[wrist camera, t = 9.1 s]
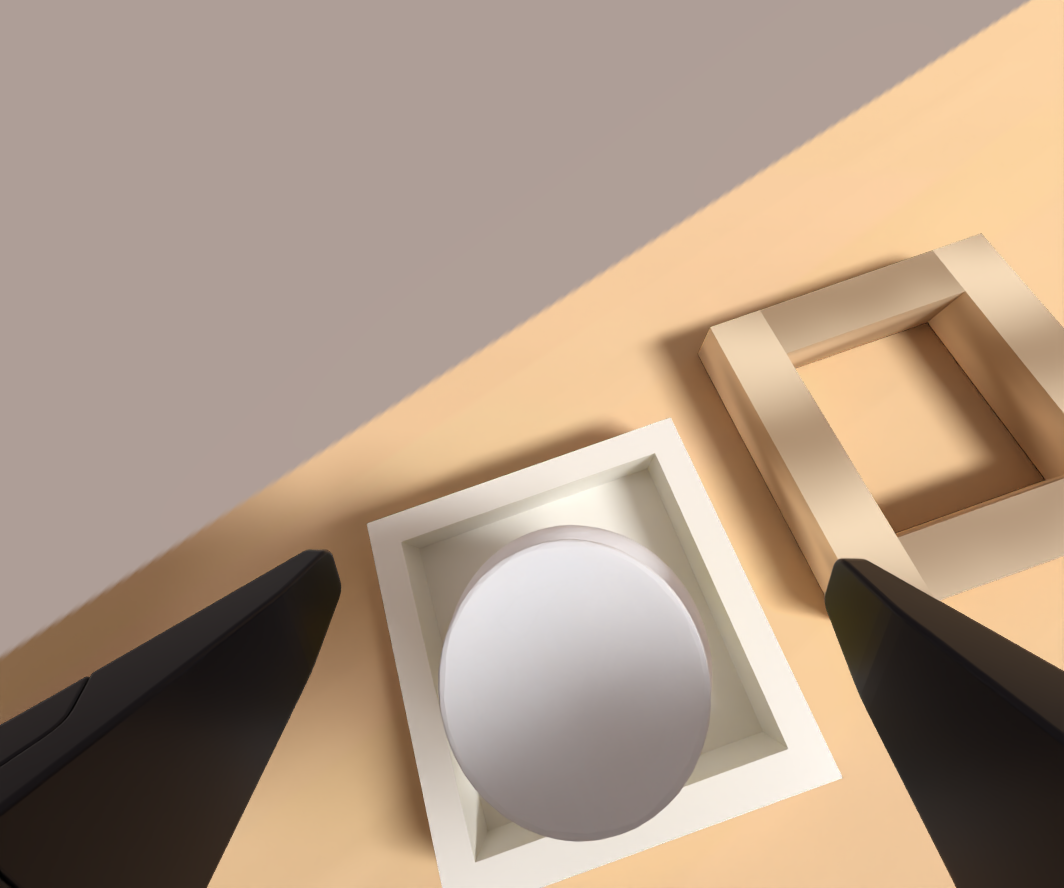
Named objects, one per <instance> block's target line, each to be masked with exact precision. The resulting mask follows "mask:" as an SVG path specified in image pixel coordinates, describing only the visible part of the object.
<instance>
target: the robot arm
mask: <svg viewBox="0 0 1064 888" xmlns="http://www.w3.org/2000/svg"><path fill="white" fill-rule="evenodd" d="M340 593H341V582H340V579H339V575H338V572H337V568H336V565H335V561H334V558H333V555H332V553H331V552H330V551H328V550H320V549H310V550H306V551H304V552H302V553H300V554H298V555H297V556H295V557H293V558H291V559H290V560H288V561H286V562H285V563H283V564H281V565H279V566H278V567H276V568H274V569H272V570H271V571H269V572H267V573H265V574H264V575H262V576H260V577H258V578H257V579H255V580H253V581H251V582H250V583H248V584H246V585H245V586H243V587H241V588H239V589H238V590H236V591H234V592H232V593H231V594H229V595H227V596H225V597H224V598H222V599H220V600H218V601H217V602H215V603H213V604H212V605H210V606H208V607H206V608H205V609H203V610H201V611H199V612H198V613H196V614H194V615H192V616H191V617H189V618H187V619H185V620H184V621H182V622H180V623H178V624H177V625H175V626H173V627H172V628H170V629H168V630H166V631H165V632H163V633H161V634H159V635H158V636H156V637H154V638H152V639H151V640H149V641H147V642H145V643H144V644H142V645H140V646H139V647H137V648H135V649H133V650H132V651H130V652H128V653H126V654H125V655H123V656H121V657H119V658H118V659H116V660H114V661H112V662H111V663H109V664H107V665H105V666H104V667H102V668H100V669H99V670H97V671H95V672H93V673H92V674H91V676H90V677H84V678H83V679H81V680H79V681H77V682H76V683H74V684H72V685H71V686H69V687H67V688H65V689H64V690H62V691H60V692H58V693H57V694H55V695H53V696H51V697H50V698H48V699H46V700H44V701H42V702H41V703H39V704H37V705H35V706H34V707H32V708H30V709H28V710H26V711H25V712H23V713H21V714H19V715H18V716H16V717H14V718H12V719H10V720H9V721H7V722H5V723H3V724H1V725H0V888H207V886H208V884H209V882H210V880H211V878H212V876H213V874H214V872H215V870H216V868H217V866H218V864H219V862H220V860H221V857H222V855H223V853H224V851H225V849H226V847H227V845H228V843H229V841H230V839H231V837H232V835H233V833H234V831H235V829H236V827H237V825H238V823H239V821H240V818H241V816H242V814H243V812H244V810H245V808H246V806H247V804H248V802H249V800H250V798H251V796H252V794H253V792H254V790H255V788H256V786H257V784H258V781H259V779H260V777H261V775H262V773H263V771H264V769H265V767H266V765H267V763H268V761H269V759H270V757H271V755H272V753H273V751H274V749H275V747H276V744H277V742H278V740H279V738H280V736H281V734H282V732H283V730H284V728H285V726H286V724H287V722H288V720H289V718H290V716H291V714H292V712H293V710H294V708H295V705H296V703H297V701H298V699H299V697H300V695H301V693H302V691H303V689H304V687H305V685H306V683H307V681H308V678H309V676H310V674H311V672H312V669H313V667H314V664H315V662H316V659H317V657H318V654H319V651H320V649H321V646H322V643H323V640H324V638H325V635H326V632H327V630H328V627H329V624H330V621H331V619H332V616H333V613H334V611H335V608H336V605H337V602H338V600H339V597H340ZM825 606H826V610H827V612H828V615H829V618H830V620H831V623H832V626H833V628H834V631H835V633H836V636H837V639H838V641H839V644H840V646H841V649H842V652H843V654H844V657H845V660H846V662H847V665H848V667H849V670H850V673H851V675H852V678H853V680H854V683H855V685H856V688H857V690H858V693H859V695H860V697H861V699H862V701H863V704H864V706H865V708H866V710H867V712H868V714H869V716H870V718H871V720H872V722H873V724H874V726H875V728H876V730H877V732H878V734H879V736H880V738H881V740H882V742H883V744H884V746H885V748H886V749H887V751H888V753H889V755H890V757H891V759H892V761H893V763H894V765H895V767H896V769H897V771H898V773H899V775H900V777H901V779H902V781H903V783H904V785H905V787H906V789H907V791H908V793H909V795H910V797H911V799H912V801H913V803H914V805H915V807H916V809H917V811H918V813H919V815H920V817H921V819H922V821H923V823H924V825H925V827H926V829H927V831H928V833H929V835H930V837H931V839H932V841H933V842H934V844H935V846H936V848H937V850H938V852H939V854H940V856H941V858H942V860H943V862H944V864H945V866H946V868H947V870H948V872H949V874H950V876H951V878H952V880H953V882H954V884H955V886H956V888H1064V671H1063V670H1061V669H1059V668H1057V667H1056V666H1054V665H1052V664H1050V663H1049V662H1047V661H1045V660H1043V659H1042V658H1040V657H1038V656H1036V655H1034V654H1033V653H1031V652H1029V651H1027V650H1026V649H1024V648H1022V647H1020V646H1019V645H1017V644H1015V643H1013V642H1011V641H1010V640H1008V639H1006V638H1004V637H1003V636H1001V635H999V634H997V633H996V632H994V631H992V630H990V629H988V628H987V627H985V626H983V625H981V624H980V623H978V622H976V621H974V620H973V619H971V618H969V617H967V616H965V615H964V614H962V613H960V612H958V611H957V610H955V609H953V608H951V607H950V606H948V605H946V604H944V603H942V602H941V601H939V600H937V599H935V598H934V597H932V596H930V595H928V594H927V593H925V592H923V591H921V590H919V589H918V588H916V587H914V586H912V585H911V584H909V583H907V582H905V581H904V580H902V579H900V578H898V577H896V576H895V575H893V574H891V573H889V572H888V571H886V570H884V569H882V568H881V567H879V566H877V565H875V564H873V563H872V562H870V561H868V560H866V559H861V558H840V559H838V560H836V562H835V563H834V565H833V568H832V572H831V575H830V579H829V582H828V586H827V589H826V592H825Z"/></svg>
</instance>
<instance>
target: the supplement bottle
mask: <svg viewBox="0 0 1064 888" xmlns="http://www.w3.org/2000/svg"><path fill="white" fill-rule="evenodd" d="M711 692H712V659H711V652H710V646H709V642H708V638H707V634H706V630H705V626H704V624H703V621H702V618H701V616H700V613H699V611H698V609H697V607H696V605H695V603H694V601H693V599H692V597H691V596H690V594H689V592H688V591H687V589H686V587H685V586H684V585H683V583H682V582H681V581H680V579H679V578H678V577H677V576H676V574H675V573H674V572H673V571H672V570H671V569H670V568H669V567H668V566H667V565H666V564H665V563H664V562H663V561H662V560H661V559H660V558H659V557H658V556H656V555H655V554H654V553H653V552H651V551H650V550H648V549H647V548H645V547H644V546H642V545H641V544H639V543H637V542H635V541H634V540H632V539H630V538H628V537H625V536H623V535H621V534H618V533H615V532H612V531H609V530H605V529H601V528H596V527H589V526H581V525H560V526H554V527H549V528H544V529H540V530H537V531H533V532H530V533H528V534H526V535H523V536H521V537H519V538H517V539H515V540H513V541H511V542H510V543H508V544H507V545H505V546H504V547H502V548H501V549H500V550H499V551H497V552H496V553H495V554H494V555H492V556H491V557H490V558H489V559H488V560H487V561H486V562H485V563H484V564H483V565H482V566H481V567H480V569H479V570H478V571H477V572H476V574H475V575H474V576H473V577H472V579H471V580H470V582H469V583H468V585H467V587H466V588H465V590H464V592H463V594H462V596H461V597H460V600H459V602H458V604H457V606H456V608H455V611H454V614H453V617H452V620H451V623H450V625H449V627H448V630H447V633H446V636H445V639H444V643H443V647H442V651H441V656H440V663H439V670H438V696H439V706H440V712H441V717H442V721H443V726H444V730H445V734H446V736H447V739H448V742H449V745H450V747H451V750H452V752H453V755H454V757H455V759H456V761H457V762H458V764H459V766H460V768H461V770H462V772H463V773H464V775H465V776H466V778H467V779H468V780H469V782H470V783H471V785H472V786H473V787H474V789H475V790H476V791H477V792H478V793H479V794H480V795H481V796H482V798H483V799H484V800H485V801H486V802H487V803H489V804H490V805H491V806H492V807H493V808H494V809H496V810H497V811H498V812H499V813H500V814H501V815H502V816H504V817H505V818H507V819H508V820H510V821H512V822H513V823H515V824H517V825H518V826H520V827H522V828H524V829H527V830H529V831H532V832H534V833H537V834H539V835H542V836H545V837H549V838H553V839H558V840H564V841H574V842H583V841H595V840H602V839H606V838H610V837H614V836H617V835H621V834H623V833H626V832H628V831H631V830H633V829H636V828H638V827H639V826H641V825H642V824H644V823H646V822H647V821H649V820H650V819H652V818H654V817H655V816H656V815H657V814H658V813H659V812H660V811H662V810H663V809H664V808H665V807H666V806H667V805H669V804H670V802H671V801H672V800H673V799H674V798H675V797H676V796H677V795H678V794H679V792H680V791H681V789H682V788H683V787H684V785H685V784H686V782H687V781H688V779H689V777H690V776H691V774H692V772H693V770H694V768H695V766H696V764H697V762H698V759H699V757H700V755H701V752H702V749H703V746H704V743H705V739H706V736H707V732H708V727H709V720H710V713H711Z"/></svg>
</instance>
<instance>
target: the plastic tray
mask: <svg viewBox="0 0 1064 888" xmlns="http://www.w3.org/2000/svg"><path fill="white" fill-rule="evenodd" d="M560 525H581V526H589V527H596V528H601V529H605V530H609V531H612V532H615V533H618V534H621V535H623V536H625V537H628V538H630V539H632V540H634V541H635V542H637V543H639V544H641V545H642V546H644V547H645V548H647V549H648V550H650V551H651V552H653V553H654V554H655V555H656V556H658V557H659V558H660V559H661V560H662V561H663V562H664V563H665V564H666V565H667V566H668V567H669V568H670V569H671V570H672V571H673V572H674V573H675V574H676V576H677V577H678V578H679V579H680V581H681V582H682V583H683V585H684V586H685V587H686V589H687V591H688V592H689V594H690V596H691V597H692V599H693V601H694V603H695V605H696V607H697V609H698V611H699V613H700V616H701V618H702V621H703V624H704V626H705V630H706V634H707V638H708V642H709V646H710V652H711V659H712V692H711V713H710V720H709V727H708V732H707V736H706V739H705V743H704V746H703V749H702V752H701V755H700V757H699V759H698V762H697V764H696V766H695V768H694V770H693V772H692V774H691V776H690V777H689V779H688V781H687V782H686V784H685V785H684V787H683V788H682V789H681V791H680V792H679V794H678V795H677V796H676V797H675V798H674V799H673V800H672V801H671V802H670V804H669V805H667V806H666V807H665V808H664V809H663V810H662V811H660V812H659V813H658V814H657V815H656V816H655V817H654V818H652V819H650V820H649V821H647V822H646V823H644V824H642V825H641V826H639V827H638V828H636V829H633V830H631V831H628V832H626V833H623V834H621V835H617V836H614V837H610V838H606V839H602V840H595V841H583V842H574V841H564V840H558V839H553V838H549V837H545V836H542V835H539V834H537V833H534V832H532V831H529V830H527V829H524V828H522V827H520V826H518V825H517V824H515V823H513V822H512V821H510V820H508V819H507V818H505V817H504V816H502V815H501V814H500V813H499V812H498V811H497V810H496V809H494V808H493V807H492V806H491V805H490V804H489V803H487V802H486V801H485V800H484V799H483V798H482V796H481V795H480V794H479V793H478V792H477V791H476V790H475V789H474V787H473V786H472V785H471V783H470V782H469V780H468V779H467V778H466V776H465V775H464V773H463V772H462V770H461V768H460V766H459V764H458V762H457V761H456V759H455V757H454V755H453V752H452V750H451V747H450V745H449V742H448V739H447V736H446V734H445V730H444V726H443V721H442V717H441V712H440V706H439V696H438V670H439V663H440V656H441V651H442V647H443V643H444V639H445V636H446V633H447V630H448V627H449V625H450V623H451V620H452V617H453V614H454V611H455V608H456V606H457V604H458V602H459V600H460V597H461V596H462V594H463V592H464V590H465V588H466V587H467V585H468V583H469V582H470V580H471V579H472V577H473V576H474V575H475V574H476V572H477V571H478V570H479V569H480V567H481V566H482V565H483V564H484V563H485V562H486V561H487V560H488V559H489V558H490V557H491V556H492V555H494V554H495V553H496V552H497V551H499V550H500V549H501V548H502V547H504V546H505V545H507V544H508V543H510V542H511V541H513V540H515V539H517V538H519V537H521V536H523V535H526V534H528V533H530V532H533V531H537V530H540V529H544V528H549V527H554V526H560ZM367 528H368V532H369V537H370V542H371V547H372V552H373V556H374V561H375V566H376V571H377V576H378V581H379V585H380V590H381V595H382V600H383V605H384V609H385V614H386V619H387V624H388V629H389V634H390V638H391V643H392V648H393V653H394V658H395V663H396V667H397V672H398V677H399V682H400V687H401V691H402V696H403V701H404V706H405V711H406V716H407V720H408V725H409V730H410V735H411V740H412V745H413V749H414V754H415V759H416V764H417V769H418V773H419V778H420V783H421V788H422V793H423V798H424V802H425V807H426V812H427V817H428V822H429V826H430V831H431V836H432V841H433V846H434V851H435V855H436V860H437V865H438V870H439V875H440V880H441V884H442V888H542V887H545V886H548V885H550V884H553V883H556V882H559V881H561V880H564V879H567V878H570V877H572V876H575V875H578V874H581V873H583V872H586V871H589V870H592V869H594V868H597V867H600V866H602V865H605V864H608V863H611V862H613V861H616V860H619V859H622V858H624V857H627V856H630V855H633V854H635V853H638V852H641V851H644V850H646V849H649V848H652V847H655V846H657V845H660V844H663V843H666V842H668V841H671V840H674V839H677V838H679V837H682V836H685V835H687V834H690V833H693V832H696V831H698V830H701V829H704V828H707V827H709V826H712V825H715V824H718V823H720V822H723V821H726V820H729V819H731V818H734V817H737V816H740V815H742V814H745V813H748V812H751V811H753V810H756V809H759V808H762V807H764V806H767V805H770V804H773V803H775V802H778V801H781V800H783V799H786V798H789V797H792V796H794V795H797V794H800V793H803V792H805V791H808V790H811V789H814V788H816V787H819V786H822V785H825V784H827V783H830V782H833V781H836V780H838V779H841V778H842V775H841V773H840V771H839V769H838V767H837V765H836V763H835V761H834V759H833V757H832V754H831V752H830V750H829V748H828V746H827V744H826V742H825V740H824V738H823V736H822V734H821V731H820V729H819V727H818V725H817V723H816V721H815V719H814V717H813V715H812V713H811V710H810V708H809V706H808V704H807V702H806V700H805V698H804V696H803V694H802V692H801V690H800V687H799V685H798V683H797V681H796V679H795V677H794V675H793V673H792V671H791V669H790V666H789V664H788V662H787V660H786V658H785V656H784V654H783V652H782V650H781V648H780V646H779V643H778V641H777V639H776V637H775V635H774V633H773V631H772V629H771V627H770V625H769V622H768V620H767V618H766V616H765V614H764V612H763V610H762V608H761V606H760V604H759V602H758V599H757V597H756V595H755V593H754V591H753V589H752V587H751V585H750V583H749V581H748V578H747V576H746V574H745V572H744V570H743V568H742V566H741V564H740V562H739V560H738V558H737V555H736V553H735V551H734V549H733V547H732V545H731V543H730V541H729V539H728V537H727V534H726V532H725V530H724V528H723V526H722V524H721V522H720V520H719V518H718V516H717V514H716V511H715V509H714V507H713V505H712V503H711V501H710V499H709V497H708V495H707V493H706V490H705V488H704V486H703V484H702V482H701V480H700V478H699V476H698V474H697V472H696V470H695V467H694V465H693V463H692V461H691V459H690V457H689V455H688V453H687V451H686V449H685V446H684V444H683V442H682V440H681V438H680V436H679V434H678V432H677V430H676V428H675V426H674V423H673V421H672V419H671V418H668V419H665V420H662V421H659V422H656V423H653V424H650V425H648V426H645V427H642V428H639V429H636V430H633V431H630V432H628V433H625V434H622V435H619V436H616V437H613V438H610V439H607V440H605V441H602V442H599V443H596V444H593V445H590V446H587V447H585V448H582V449H579V450H576V451H573V452H570V453H567V454H564V455H562V456H559V457H556V458H553V459H550V460H547V461H544V462H542V463H539V464H536V465H533V466H530V467H527V468H524V469H521V470H519V471H516V472H513V473H510V474H507V475H504V476H501V477H499V478H496V479H493V480H490V481H487V482H484V483H481V484H478V485H476V486H473V487H470V488H467V489H464V490H461V491H458V492H456V493H453V494H450V495H447V496H444V497H441V498H438V499H435V500H433V501H430V502H427V503H424V504H421V505H418V506H415V507H413V508H410V509H407V510H404V511H401V512H398V513H395V514H392V515H390V516H387V517H384V518H381V519H378V520H375V521H372V522H370V523H367Z"/></svg>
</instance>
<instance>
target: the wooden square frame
mask: <svg viewBox="0 0 1064 888" xmlns="http://www.w3.org/2000/svg"><path fill="white" fill-rule="evenodd" d="M927 322H928V323H929V325H930V326H931V327H932V329H933V330H934V331H935V333H936V334H937V336H938V337H939V338H940V340H941V341H942V342H943V344H944V345H945V346H946V348H947V349H948V350H949V352H950V353H951V354H952V356H953V357H954V358H955V360H956V361H957V362H958V364H959V365H960V366H961V368H962V369H963V370H964V372H965V373H966V374H967V376H968V377H969V378H970V380H971V381H972V382H973V384H974V385H975V386H976V388H977V389H978V390H979V392H980V393H981V394H982V396H983V397H984V398H985V400H986V401H987V402H988V404H989V405H990V406H991V408H992V409H993V410H994V412H995V413H996V414H997V416H998V417H999V418H1000V420H1001V421H1002V422H1003V424H1004V425H1005V426H1006V428H1007V429H1008V430H1009V432H1010V433H1011V434H1012V436H1013V437H1014V438H1015V440H1016V441H1017V442H1018V444H1019V445H1020V446H1021V448H1022V449H1023V450H1024V452H1025V453H1026V454H1027V456H1028V457H1029V458H1030V460H1031V461H1032V462H1033V464H1034V465H1035V466H1036V468H1037V469H1038V470H1039V472H1040V473H1041V474H1042V476H1043V477H1044V478H1045V480H1044V481H1042V482H1039V483H1036V484H1033V485H1030V486H1027V487H1025V488H1022V489H1019V490H1016V491H1013V492H1011V493H1008V494H1005V495H1002V496H999V497H997V498H994V499H991V500H988V501H985V502H983V503H980V504H977V505H974V506H971V507H969V508H966V509H963V510H960V511H957V512H954V513H952V514H949V515H946V516H943V517H940V518H938V519H935V520H932V521H929V522H926V523H924V524H921V525H918V526H915V527H912V528H910V529H907V530H904V531H901V532H898V533H896V534H895V533H894V531H893V529H892V528H891V526H890V524H889V523H888V521H887V519H886V518H885V516H884V514H883V513H882V511H881V509H880V508H879V506H878V504H877V503H876V501H875V499H874V498H873V496H872V495H871V493H870V491H869V490H868V488H867V486H866V485H865V483H864V481H863V480H862V478H861V476H860V475H859V473H858V471H857V470H856V468H855V466H854V465H853V463H852V461H851V460H850V458H849V456H848V455H847V453H846V452H845V450H844V448H843V447H842V445H841V443H840V442H839V440H838V438H837V437H836V435H835V433H834V432H833V430H832V428H831V427H830V425H829V423H828V422H827V420H826V418H825V417H824V415H823V414H822V412H821V410H820V409H819V407H818V405H817V404H816V402H815V400H814V399H813V397H812V395H811V394H810V392H809V390H808V389H807V387H806V385H805V384H804V382H803V380H802V379H801V377H800V376H799V374H798V372H797V371H796V369H795V368H798V367H801V366H804V365H807V364H809V363H812V362H815V361H818V360H821V359H824V358H827V357H830V356H832V355H835V354H838V353H841V352H844V351H847V350H850V349H852V348H855V347H858V346H861V345H864V344H867V343H870V342H873V341H875V340H878V339H881V338H884V337H887V336H890V335H893V334H895V333H898V332H901V331H904V330H907V329H910V328H913V327H916V326H918V325H921V324H924V323H927ZM698 356H699V357H700V359H701V361H702V363H703V365H704V367H705V369H706V371H707V373H708V375H709V376H710V378H711V380H712V382H713V384H714V386H715V388H716V390H717V392H718V393H719V395H720V397H721V399H722V401H723V403H724V405H725V407H726V409H727V411H728V412H729V414H730V416H731V418H732V420H733V422H734V424H735V426H736V428H737V430H738V431H739V433H740V435H741V437H742V439H743V441H744V443H745V445H746V447H747V448H748V450H749V452H750V454H751V456H752V458H753V460H754V462H755V464H756V466H757V467H758V469H759V471H760V473H761V475H762V477H763V479H764V481H765V483H766V484H767V486H768V488H769V490H770V492H771V494H772V496H773V498H774V500H775V502H776V503H777V505H778V507H779V509H780V511H781V513H782V515H783V517H784V519H785V521H786V522H787V524H788V526H789V528H790V530H791V532H792V534H793V536H794V538H795V539H796V541H797V543H798V545H799V547H800V549H801V551H802V553H803V555H804V557H805V558H806V560H807V562H808V564H809V566H810V568H811V570H812V572H813V574H814V575H815V577H816V579H817V581H818V583H819V585H820V587H821V589H822V591H823V593H824V594H825V592H826V589H827V586H828V582H829V579H830V575H831V572H832V568H833V565H834V563H835V562H836V560H838V559H840V558H861V559H866V560H868V561H870V562H872V563H873V564H875V565H877V566H879V567H881V568H882V569H884V570H886V571H888V572H889V573H891V574H893V575H895V576H896V577H898V578H900V579H902V580H904V581H905V582H907V583H909V584H911V585H912V586H914V587H916V588H918V589H919V590H921V591H923V592H925V593H927V594H928V595H930V596H932V597H934V598H935V599H937V600H939V601H940V600H943V599H945V598H948V597H951V596H954V595H956V594H959V593H962V592H965V591H968V590H970V589H973V588H976V587H979V586H981V585H984V584H987V583H990V582H993V581H995V580H998V579H1001V578H1004V577H1007V576H1009V575H1012V574H1015V573H1018V572H1020V571H1023V570H1026V569H1029V568H1032V567H1034V566H1037V565H1040V564H1043V563H1045V562H1048V561H1051V560H1054V559H1057V558H1059V557H1062V556H1064V328H1063V327H1062V326H1061V324H1060V323H1059V322H1058V321H1057V320H1056V319H1055V318H1054V316H1053V315H1052V314H1051V313H1050V312H1049V311H1048V309H1047V308H1046V307H1045V306H1044V305H1043V304H1042V303H1041V301H1040V300H1039V299H1038V298H1037V297H1036V296H1035V294H1034V293H1033V292H1032V291H1031V290H1030V289H1029V288H1028V286H1027V285H1026V284H1025V283H1024V282H1023V281H1022V280H1021V278H1020V277H1019V276H1018V275H1017V274H1016V273H1015V271H1014V270H1013V269H1012V268H1011V267H1010V266H1009V265H1008V263H1007V262H1006V261H1005V260H1004V259H1003V258H1002V256H1001V255H1000V254H999V253H998V252H997V251H996V250H995V248H994V247H993V246H992V245H991V244H990V243H989V241H988V240H987V239H986V238H985V237H984V236H983V235H982V233H981V234H978V235H975V236H972V237H969V238H967V239H964V240H961V241H958V242H955V243H952V244H949V245H946V246H943V247H941V248H938V249H935V250H932V251H929V252H926V253H923V254H920V255H917V256H915V257H912V258H909V259H906V260H903V261H900V262H897V263H894V264H891V265H889V266H886V267H883V268H880V269H877V270H874V271H871V272H868V273H865V274H862V275H860V276H857V277H854V278H851V279H848V280H845V281H842V282H839V283H836V284H834V285H831V286H828V287H825V288H822V289H819V290H816V291H813V292H810V293H808V294H805V295H802V296H799V297H796V298H793V299H790V300H787V301H784V302H782V303H779V304H776V305H773V306H770V307H767V308H764V309H761V310H758V311H756V312H753V313H750V314H747V315H744V316H741V317H738V318H735V319H732V320H730V321H727V322H724V323H721V324H718V325H715V326H712V327H710V329H709V331H708V333H707V335H706V337H705V339H704V341H703V344H702V346H701V348H700V350H699V352H698Z"/></svg>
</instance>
